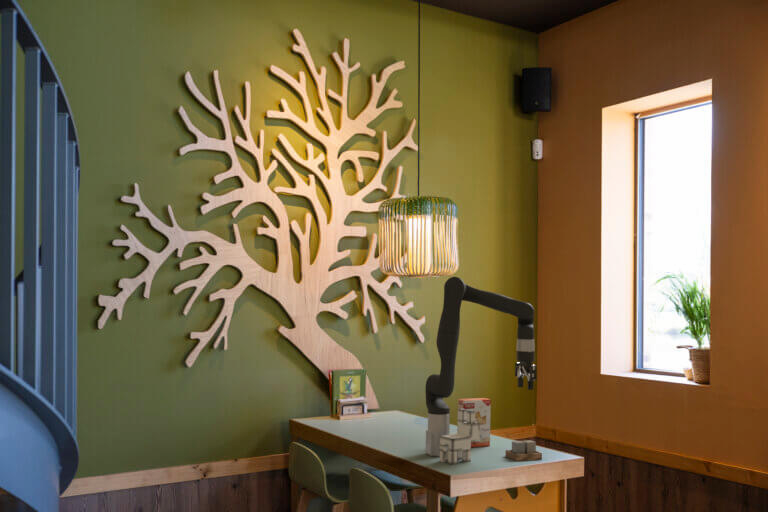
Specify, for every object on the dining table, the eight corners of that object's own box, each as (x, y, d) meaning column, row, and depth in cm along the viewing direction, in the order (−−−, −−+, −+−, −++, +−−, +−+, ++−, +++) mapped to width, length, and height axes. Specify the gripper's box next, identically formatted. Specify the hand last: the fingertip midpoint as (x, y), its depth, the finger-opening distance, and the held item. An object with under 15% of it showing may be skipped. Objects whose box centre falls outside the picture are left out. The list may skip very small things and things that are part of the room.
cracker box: (462, 448, 321) (463, 400, 322) (456, 445, 326) (456, 398, 327) (490, 446, 326) (491, 399, 327) (484, 443, 331) (484, 397, 333)
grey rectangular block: (516, 457, 300) (516, 443, 301) (511, 455, 304) (511, 441, 304) (525, 457, 302) (525, 442, 302) (520, 455, 305) (520, 440, 306)
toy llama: (435, 461, 294) (435, 411, 295) (466, 456, 305) (466, 408, 306) (447, 465, 288) (448, 414, 289) (479, 459, 299) (479, 410, 300)
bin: (515, 461, 297) (515, 454, 298) (505, 456, 306) (505, 450, 306) (541, 459, 301) (541, 453, 301) (530, 454, 310) (530, 448, 310)
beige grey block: (527, 457, 302) (527, 442, 302) (522, 455, 306) (522, 440, 306) (535, 456, 303) (535, 442, 303) (530, 454, 307) (530, 440, 307)
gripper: (509, 348, 315) (509, 386, 314) (526, 351, 302) (526, 391, 301) (525, 348, 317) (525, 386, 317) (542, 351, 304) (542, 390, 303)
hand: (525, 388), depth 309 cm, fingers open, 8 cm apart
